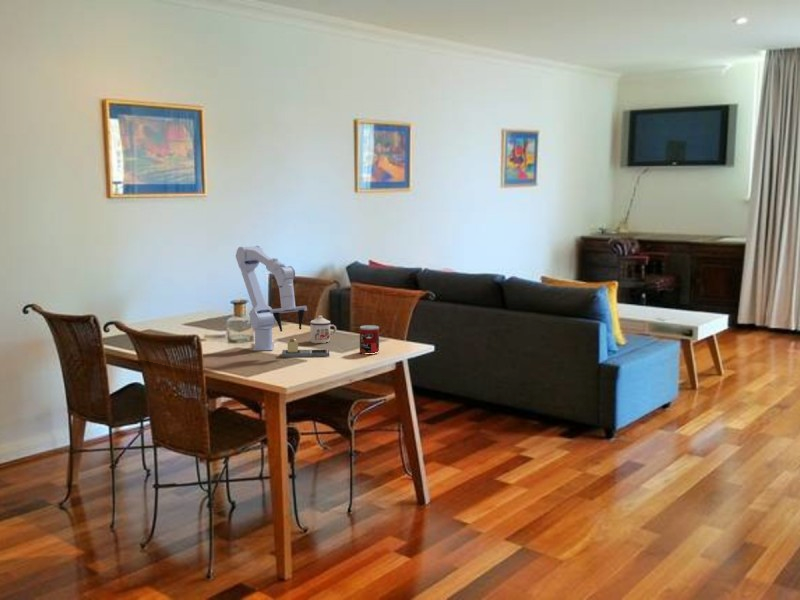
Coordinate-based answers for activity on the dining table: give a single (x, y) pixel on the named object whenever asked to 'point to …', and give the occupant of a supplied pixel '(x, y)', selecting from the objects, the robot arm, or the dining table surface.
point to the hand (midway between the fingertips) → (290, 330)
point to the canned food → (369, 339)
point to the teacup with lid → (320, 330)
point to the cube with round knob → (292, 345)
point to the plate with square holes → (306, 353)
